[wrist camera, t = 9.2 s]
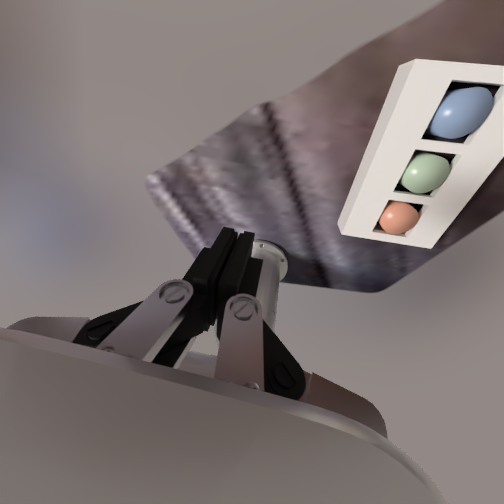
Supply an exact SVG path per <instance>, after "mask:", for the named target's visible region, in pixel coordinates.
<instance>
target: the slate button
mask: <svg viewBox="0 0 504 504" xmlns="http://www.w3.org/2000/svg"><path fill="white" fill-rule="evenodd" d="M492 104H493V97H492V94H491V92H490V91H489V90H488V89H486V88H483V87H473V88H464V89H456V90H448V91H446V92H445V94H444V96H443V98H442V100H441V102H440V104H439V106H438V107H437V109H436V111H435V113H434V115H433V117H432V119H431V121H430V123H429V124H428V126H427V128H426V130H425V132H424V133H426V134H428V135H434V136H439V137H444V138H449V139H455V138H460V137H463V136H465V135H467V134H469V133H471V132H472V131H474V130H475V129H476V128H477V127H479V126H480V125H481V124H482V122H483V121H484V120H485V119H486V117H487V116H488V114H489V112H490V110H491V108H492Z"/></svg>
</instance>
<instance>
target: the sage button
mask: <svg viewBox="0 0 504 504" xmlns="http://www.w3.org/2000/svg"><path fill="white" fill-rule="evenodd" d="M449 170H450V166H449V163H448V161H447V160H446V159H445V158H443V157H440V156H437V155H434V154H431V153H428V152H425V151H414V153H413V155H412V157H411V159H410V161H409V162H408V164H407V166H406V168H405V170H404V172H403V174H402V176H401V178H400V179H399V181H398V183H400V184H401V185H403V186H404V187H405V188H407V189H408V190H410V191H411V192H413V193H426V192H429V191H431V190H433V189H435V188H437V187H438V186H439V185H441V184H442V183H443V182H444V180H445V179H446V178H447V176H448V174H449Z"/></svg>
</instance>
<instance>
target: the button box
mask: <svg viewBox="0 0 504 504" xmlns="http://www.w3.org/2000/svg"><path fill="white" fill-rule="evenodd" d="M451 81H453V82H464V83H475V84H487V85H498V86H500V88H499V89H498V91H497V93H496V94H495V96H494V97H493V104H492V108H491V110H490V112H489V114H488V116H487V117H486V119H485V120H484V121H483V122H482V124H481V125H480V126H479V127H477V128H476V129H475V130H474V131H472V132H471V133H470V134H469V136H468V137H467V139H466V140H465V142H464V143H454V142H445V141H437V140H428V139H421V138H422V136H423V134H424V132H425V130H426V128H427V126H428V124H429V123H430V121H431V119H432V117H433V115H434V113H435V111H436V109H437V107H438V106H439V104H440V102H441V100H442V98H443V96H444V94H445V92H446V90H447V88H448V87H449V85H450V83H451ZM415 149H417V150H425V151H433V152H442V153H450V154H456V156H455V157H454V159H453V160H452V162H451V163H450V165H449V166H450V170H449V174H448V176H447V178H446V179H445V180H444V182H443V183H442V184H441V185H439V186H438V187H437V188H435V189H434V190H433V191H432V193H431V194H430V195H425V194H417V193H410V192H403V191H395V190H394V189H395V187H396V185H397V183H398V181H399V179H400V178H401V176H402V174H403V172H404V170H405V168H406V166H407V164H408V162H409V161H410V159H411V157H412V155H413V153H414V151H415ZM503 157H504V66H497V65H485V64H472V63H460V62H447V61H435V60H423V59H414V60H412V61H409V62H407V63H405V64H402V65H400V66H399V67H398V70H397V72H396V75H395V77H394V80H393V82H392V85H391V88H390V90H389V93H388V95H387V98H386V100H385V103H384V105H383V108H382V111H381V113H380V116H379V118H378V121H377V123H376V126H375V128H374V131H373V133H372V136H371V139H370V141H369V144H368V146H367V149H366V151H365V154H364V156H363V159H362V162H361V164H360V167H359V169H358V172H357V174H356V177H355V179H354V182H353V185H352V187H351V190H350V192H349V195H348V197H347V200H346V202H345V205H344V207H343V210H342V213H341V215H340V218H339V220H338V223H337V224H338V226H339V229H340V232H341V234H342V235H349V236H355V237H361V238H367V239H374V240H380V241H386V242H392V243H399V244H405V245H411V246H417V247H423V248H430V249H431V248H432V247H433V246H434V244H435V243H436V242H437V241H438V239H439V238H440V237H441V235H442V234H443V233H444V232H445V230H446V229H447V228H448V227H449V225H450V224H451V223H452V222H453V220H454V219H455V218H456V216H457V215H458V214H459V213H460V211H461V210H462V209H463V208H464V206H465V205H466V204H467V202H468V201H469V200H470V199H471V197H472V196H473V195H474V194H475V192H476V191H477V190H478V188H479V187H480V186H481V185H482V183H483V182H484V181H485V180H486V178H487V177H488V176H489V174H490V173H491V172H492V171H493V169H494V168H495V167H496V166H497V164H498V163H499V162H500V160H501V159H502V158H503ZM388 200H395V201H402V202H409V203H416V204H423V207H422V208H421V210H420V211H419V213H418V215H419V217H418V221H417V223H416V224H415V225H414V226H413V227H412V228H411V229H410V230H408V231H406V232H404V233H401V234H390V233H387V232H386V231H385V230H384V229H383V228H382V226H380V225H376V223H377V221H378V219H379V217H380V216H381V214H382V212H383V210H384V208H385V206H386V204H387V202H388Z"/></svg>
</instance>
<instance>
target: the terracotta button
mask: <svg viewBox="0 0 504 504" xmlns="http://www.w3.org/2000/svg"><path fill="white" fill-rule="evenodd" d="M418 217H419V215H418V212H417V210H416V209H415V208H413V207H412V206H411V205H410V204H409V203H407V202H402V201H395V200H388V202H387V204H386V206H385V208H384V210H383V212H382V214H381V216H380V217H379V219H378V222H379V224H380V225H381V226H382V228H383V229H384V230H385V231H386V232H387V233H390V234H401V233H404V232H406V231H408V230H410V229H411V228H412V227H413V226H414V225H415V224H416V223H417V221H418Z"/></svg>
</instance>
